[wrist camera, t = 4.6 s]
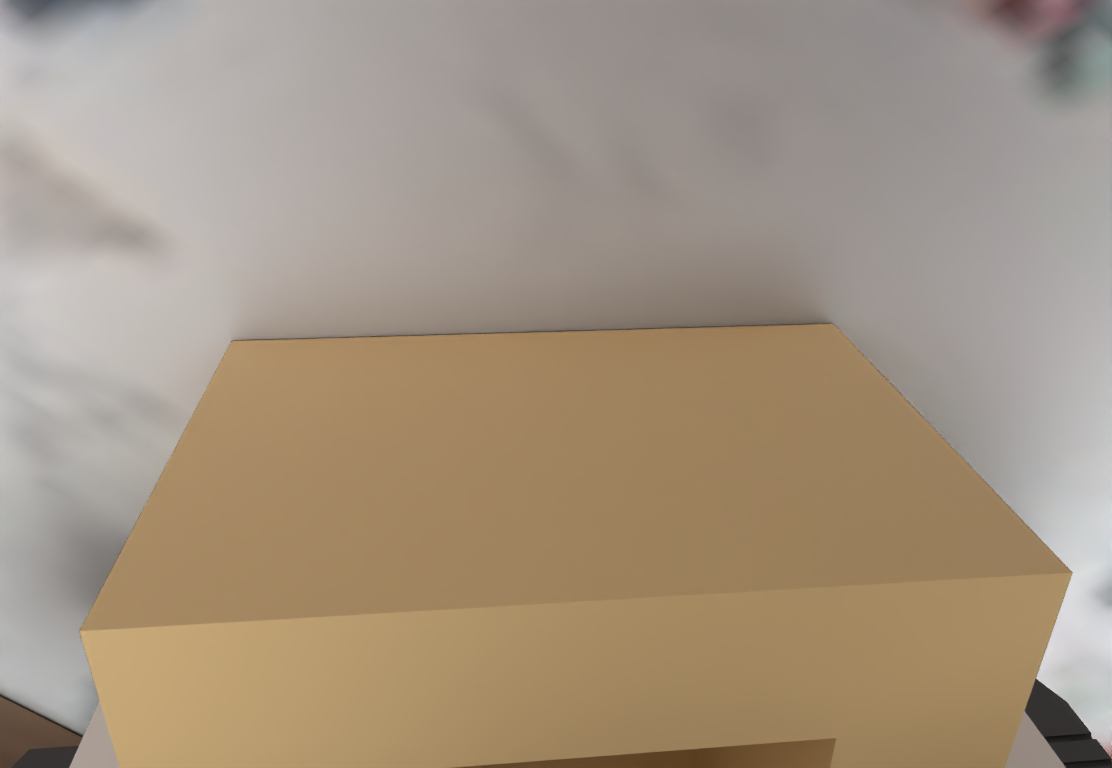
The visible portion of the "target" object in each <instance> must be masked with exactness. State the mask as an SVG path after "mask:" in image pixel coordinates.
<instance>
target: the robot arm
mask: <svg viewBox="0 0 1112 768" xmlns="http://www.w3.org/2000/svg"><path fill="white" fill-rule="evenodd" d="M11 768H119V764H118V761H117V758H116V754H115V751H114V747H113V744H112V741H111V737H110V734H109V730H108V727H107V724H106V720H105V717H104V713H103V710H102V707H101V703H100V700H99V703H98V705H97V707H96V709H95V712H94V714H93V716H92V718H91V720H90V723H89V725H88V727H87V729H86V732H85V734H84V736H83V738H82V740H81V743H80V745H79V746H67V747H54V748H40V749H29V750H28V751H27V752H26V753H25V754H24V755H23V756H22V757H21V758H20V759H19V760H18V761H17V762H16V763H15V764H14V765H13V766H12V767H11ZM1005 768H1112V762H1111V758H1110V756H1109V755H1108V754H1107V752H1106V751H1105V750H1104V749H1103V747H1102V746H1101V745H1100V744H1099V742H1098V741H1097V740H1096V739H1092V737H1091V732H1090V731H1089V730H1088V728H1087V727H1086V726H1085V725H1084V723H1083V722H1082V721H1081V720H1080V718H1079V717H1078V716H1077V715H1076V713H1075V712H1074V711H1073V710H1072V708H1071V707H1070V706H1069V704H1068V703H1067V702H1066V701H1065V700H1063V699H1062V698H1061V697H1059V696H1058V695H1057V694H1055V693H1054V692H1053V691H1051V690H1050V689H1049V688H1047V687H1046V686H1045V685H1043V684H1042V683H1041V682H1039V681H1038V680H1037V679H1035V682H1034V685H1033V688H1032V691H1031V694H1030V697H1029V699H1028V702H1027V705H1026V708H1025V711H1024V714H1023V717H1022V720H1021V722H1020V725H1019V728H1018V731H1017V734H1016V737H1015V740H1014V743H1013V745H1012V748H1011V751H1010V754H1009V757H1008V760H1007V763H1006V766H1005Z"/></svg>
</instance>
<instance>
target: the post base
mask: <svg viewBox="0 0 1112 768" xmlns="http://www.w3.org/2000/svg"><path fill="white" fill-rule="evenodd" d="M81 740H82V737H80V736H78V735H76V734H74V733H72V732H70V731H68V730H66V729H64V728H62V727H60V726H58V725H56V724H54V723H52V722H50V721H48V720H46V719H44V718H42V717H40V716H38V715H36V714H34V713H32V712H31V711H29V710H27V709H25V708H23V707H21V706H19V705H17V704H15V703H13V702H11V701H9V700H7V699H5V698H3V697H1V696H0V768H11V767H12V766H13V765H14V764H15V763H16V762H17V761H18V760H19V759H20V758H21V757H22V756H23V755H24V754H25V753H26V752H27V751H28V750H29V749H40V748H54V747H67V746H79V745H80V743H81Z"/></svg>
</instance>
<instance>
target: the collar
mask: <svg viewBox="0 0 1112 768" xmlns="http://www.w3.org/2000/svg"><path fill="white" fill-rule="evenodd" d="M1072 573H1073V572H1072V571H1071V570H1070V569H1069V568H1068V567H1067V566H1066V565H1065V564H1064V563H1063V562H1062V561H1061V560H1060V559H1059V558H1058V557H1057V556H1056V555H1055V554H1054V553H1053V552H1052V551H1051V550H1050V549H1049V548H1048V546H1047V545H1046V544H1045V543H1044V542H1043V541H1042V540H1041V539H1040V538H1039V537H1038V536H1037V535H1036V534H1035V533H1034V532H1033V531H1032V530H1031V529H1030V528H1029V527H1028V526H1027V525H1026V524H1025V523H1024V522H1023V520H1022V519H1021V518H1020V517H1019V516H1018V515H1017V514H1016V513H1015V512H1014V511H1013V510H1012V509H1011V508H1010V507H1009V506H1008V505H1007V504H1006V503H1005V502H1004V501H1003V500H1002V499H1001V498H1000V497H999V496H998V494H997V493H996V492H995V491H994V490H993V489H992V488H991V487H990V486H989V485H988V484H987V483H986V482H985V481H984V480H983V479H982V478H981V477H980V476H979V475H978V474H977V473H976V472H975V471H974V470H973V468H972V467H971V466H970V465H969V464H968V463H967V462H966V461H965V460H964V459H963V458H962V457H961V456H960V455H959V454H958V453H957V452H956V451H955V450H954V449H953V448H952V447H951V446H950V445H949V444H948V443H947V441H946V440H945V439H944V438H943V437H942V436H941V435H940V434H939V433H938V432H937V431H936V430H935V429H934V428H933V427H932V426H931V425H930V424H929V423H928V422H927V421H926V420H925V419H924V418H923V417H922V415H921V414H920V413H919V412H918V411H917V410H916V409H915V408H914V407H913V406H912V405H911V404H910V403H909V402H908V401H907V400H906V399H905V398H904V397H903V396H902V395H901V394H900V393H899V392H898V391H897V389H896V388H895V387H894V386H893V385H892V384H891V383H890V382H889V381H888V380H887V379H886V378H885V377H884V376H883V375H882V374H881V373H880V372H879V371H878V370H877V369H876V368H875V367H874V366H873V365H872V364H871V362H870V361H869V360H868V359H867V358H866V357H865V356H864V355H863V354H862V353H861V352H860V351H859V350H858V349H857V348H856V347H855V346H854V345H853V344H852V343H851V342H850V341H849V340H848V339H847V338H846V336H845V335H844V334H843V333H842V332H841V331H840V330H839V329H838V328H837V327H836V326H835V325H834V324H808V325H773V326H738V327H704V328H669V329H634V330H599V331H564V332H529V333H494V334H459V335H424V336H389V337H354V338H319V339H285V340H250V341H231V343H230V345H229V347H228V349H227V350H226V352H225V354H224V356H223V358H222V360H221V362H220V364H219V366H218V368H217V370H216V371H215V373H214V375H213V377H212V379H211V381H210V383H209V385H208V387H207V389H206V390H205V392H204V394H203V396H202V398H201V400H200V402H199V404H198V406H197V408H196V410H195V411H194V413H193V415H192V417H191V419H190V421H189V423H188V425H187V427H186V429H185V431H184V432H183V434H182V436H181V438H180V440H179V442H178V444H177V446H176V448H175V450H174V452H173V453H172V455H171V457H170V459H169V461H168V463H167V465H166V467H165V469H164V471H163V472H162V474H161V476H160V478H159V480H158V482H157V484H156V486H155V488H154V490H153V492H152V493H151V495H150V497H149V499H148V501H147V503H146V505H145V507H144V509H143V511H142V513H141V514H140V516H139V518H138V520H137V522H136V524H135V526H134V528H133V530H132V532H131V534H130V535H129V537H128V539H127V541H126V543H125V545H124V547H123V549H122V551H121V553H120V554H119V556H118V558H117V560H116V562H115V564H114V566H113V568H112V570H111V572H110V574H109V575H108V577H107V579H106V581H105V583H104V585H103V587H102V589H101V591H100V593H99V595H98V596H97V598H96V600H95V602H94V604H93V606H92V608H91V610H90V612H89V614H88V616H87V617H86V619H85V621H84V623H83V625H82V627H81V629H80V631H79V632H80V636H81V639H82V642H83V646H84V649H85V653H86V656H87V659H88V663H89V666H90V669H91V673H92V676H93V680H94V683H95V686H96V690H97V693H98V697H99V700H100V703H101V707H102V710H103V713H104V717H105V720H106V724H107V727H108V730H109V734H110V737H111V741H112V744H113V747H114V751H115V754H116V758H117V761H118V764H119V768H1005V766H1006V763H1007V760H1008V757H1009V754H1010V751H1011V748H1012V745H1013V743H1014V740H1015V737H1016V734H1017V731H1018V728H1019V725H1020V722H1021V720H1022V717H1023V714H1024V711H1025V708H1026V705H1027V702H1028V699H1029V697H1030V694H1031V691H1032V688H1033V685H1034V682H1035V679H1036V676H1037V673H1038V671H1039V668H1040V665H1041V662H1042V659H1043V656H1044V653H1045V650H1046V648H1047V645H1048V642H1049V639H1050V636H1051V633H1052V630H1053V627H1054V625H1055V622H1056V619H1057V616H1058V613H1059V610H1060V607H1061V604H1062V602H1063V599H1064V596H1065V593H1066V590H1067V587H1068V584H1069V581H1070V579H1071V576H1072Z"/></svg>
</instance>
